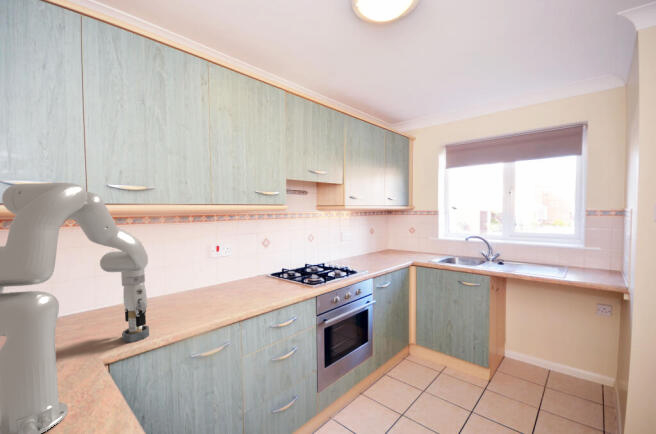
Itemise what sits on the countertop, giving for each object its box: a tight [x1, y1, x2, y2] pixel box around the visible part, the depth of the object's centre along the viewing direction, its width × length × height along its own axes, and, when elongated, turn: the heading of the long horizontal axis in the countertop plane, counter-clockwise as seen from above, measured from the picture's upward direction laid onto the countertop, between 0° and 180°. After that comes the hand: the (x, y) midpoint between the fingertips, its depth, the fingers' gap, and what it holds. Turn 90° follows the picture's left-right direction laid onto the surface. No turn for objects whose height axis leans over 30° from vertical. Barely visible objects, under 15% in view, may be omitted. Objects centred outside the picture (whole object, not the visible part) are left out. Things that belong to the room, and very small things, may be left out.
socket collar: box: [121, 324, 150, 344], centre depth 112 cm, size 9×9×3 cm
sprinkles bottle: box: [127, 306, 142, 334], centre depth 112 cm, size 5×5×14 cm
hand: (135, 322), depth 112 cm, fingers open, 9 cm apart
